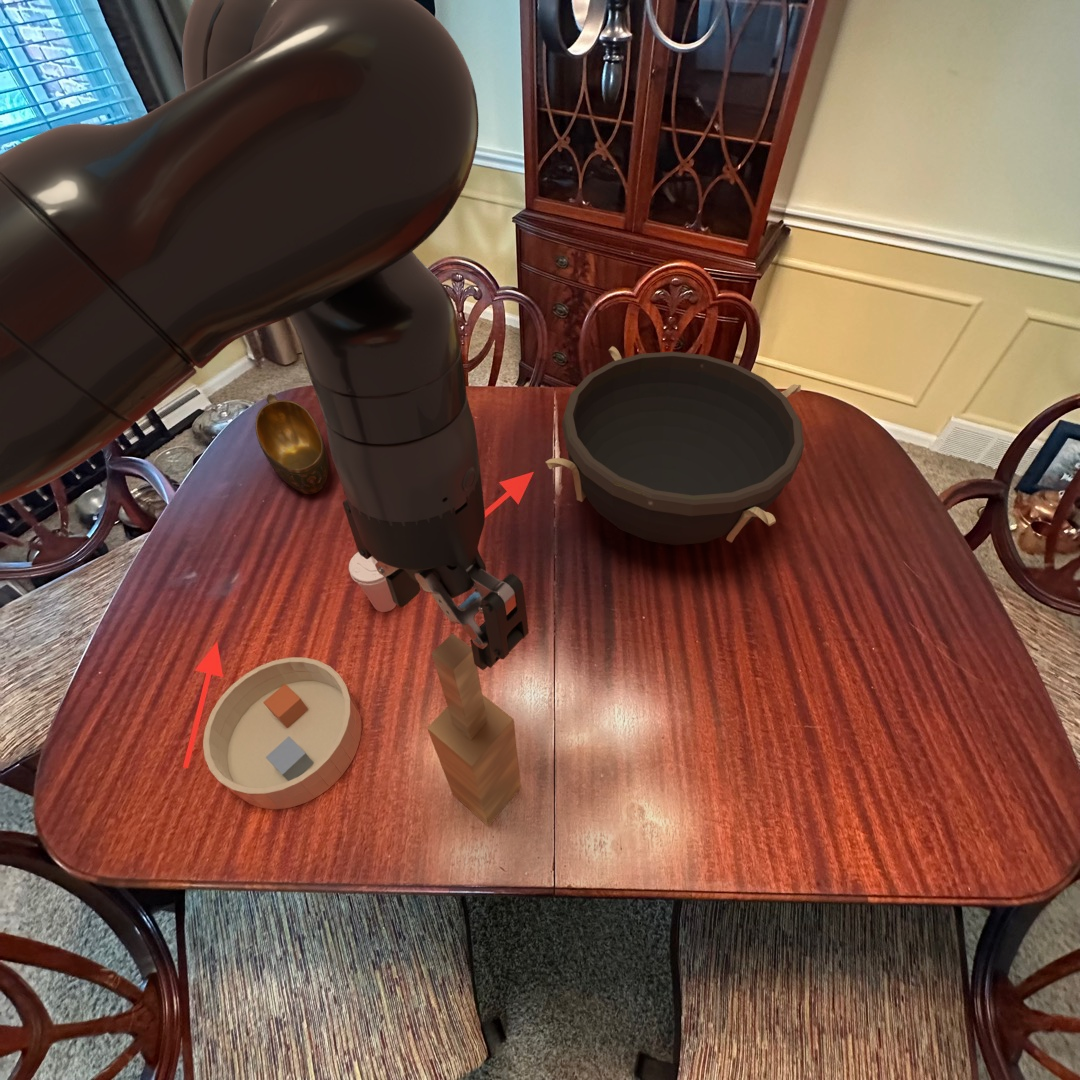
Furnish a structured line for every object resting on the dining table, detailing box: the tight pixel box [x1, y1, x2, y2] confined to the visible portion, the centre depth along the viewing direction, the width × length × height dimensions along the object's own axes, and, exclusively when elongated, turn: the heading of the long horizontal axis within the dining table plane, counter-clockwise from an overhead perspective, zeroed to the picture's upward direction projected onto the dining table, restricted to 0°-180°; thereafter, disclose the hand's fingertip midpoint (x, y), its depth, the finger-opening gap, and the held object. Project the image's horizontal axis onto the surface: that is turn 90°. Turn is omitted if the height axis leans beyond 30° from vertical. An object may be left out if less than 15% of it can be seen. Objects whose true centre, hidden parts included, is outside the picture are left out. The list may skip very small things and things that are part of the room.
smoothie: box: [348, 551, 398, 613], centre depth 87 cm, size 6×6×14 cm
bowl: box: [545, 345, 805, 546], centre depth 96 cm, size 35×35×20 cm
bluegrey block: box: [266, 736, 314, 781], centre depth 74 cm, size 3×3×3 cm
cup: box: [254, 393, 329, 495], centre depth 108 cm, size 13×20×10 cm, turn 4°
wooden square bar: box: [431, 633, 487, 740], centre depth 53 cm, size 2×2×14 cm
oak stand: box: [426, 693, 522, 828], centre depth 66 cm, size 6×6×20 cm
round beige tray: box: [202, 656, 362, 810], centre depth 76 cm, size 17×17×6 cm
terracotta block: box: [263, 684, 308, 728], centre depth 79 cm, size 3×3×3 cm
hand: (447, 627), depth 45 cm, fingers open, 8 cm apart
